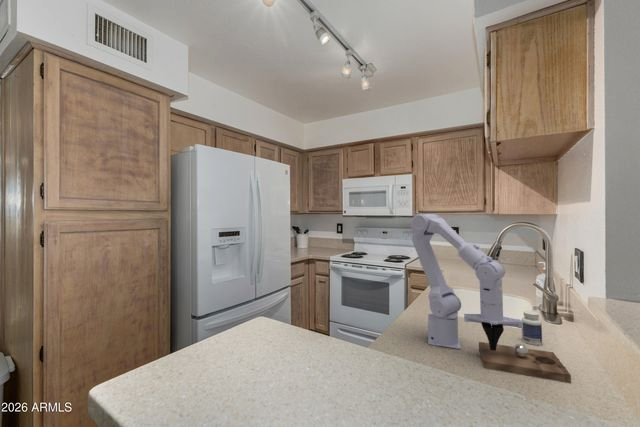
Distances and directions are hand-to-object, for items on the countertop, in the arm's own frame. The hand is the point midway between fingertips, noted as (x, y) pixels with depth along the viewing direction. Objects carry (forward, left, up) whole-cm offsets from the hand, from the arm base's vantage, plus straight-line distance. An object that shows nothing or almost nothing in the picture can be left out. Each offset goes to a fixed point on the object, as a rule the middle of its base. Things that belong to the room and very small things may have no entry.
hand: (492, 348), depth 83 cm
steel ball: (+7, 0, +1) cm, 7 cm away
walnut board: (+6, 0, -3) cm, 7 cm away
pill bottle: (+13, +18, -3) cm, 23 cm away
